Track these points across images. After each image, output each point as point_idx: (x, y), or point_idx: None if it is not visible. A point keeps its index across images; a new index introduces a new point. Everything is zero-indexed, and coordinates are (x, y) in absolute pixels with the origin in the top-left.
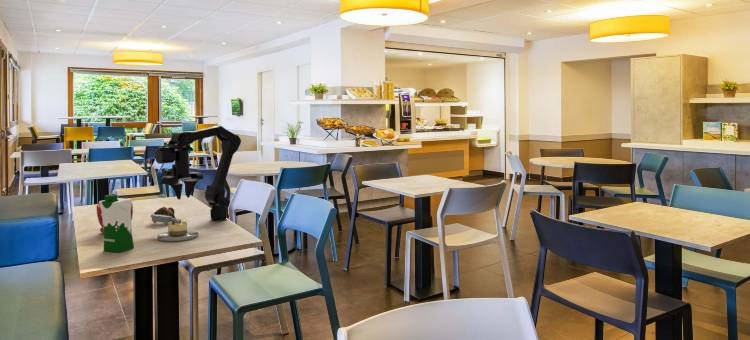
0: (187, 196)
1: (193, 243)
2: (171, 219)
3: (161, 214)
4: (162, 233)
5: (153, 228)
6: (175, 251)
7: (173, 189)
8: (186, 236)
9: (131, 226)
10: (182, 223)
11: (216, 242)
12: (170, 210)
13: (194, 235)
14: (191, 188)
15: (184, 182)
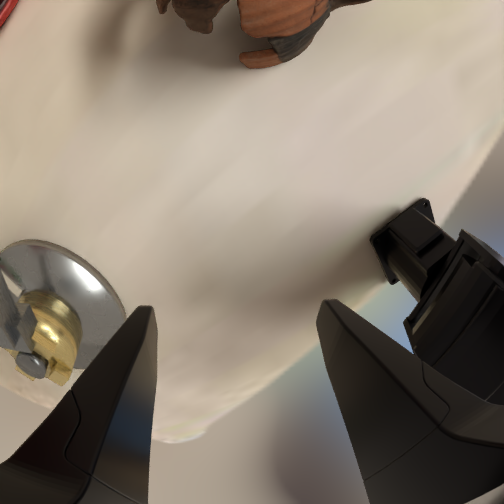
0: (323, 317)
1: None
2: (10, 349)
3: (178, 2)
4: (15, 252)
5: (91, 52)
6: (7, 377)
7: (37, 430)
8: None
9: (6, 10)
10: (53, 366)
11: None
12: (289, 10)
13: (86, 367)
14: (354, 448)
15: (492, 457)
